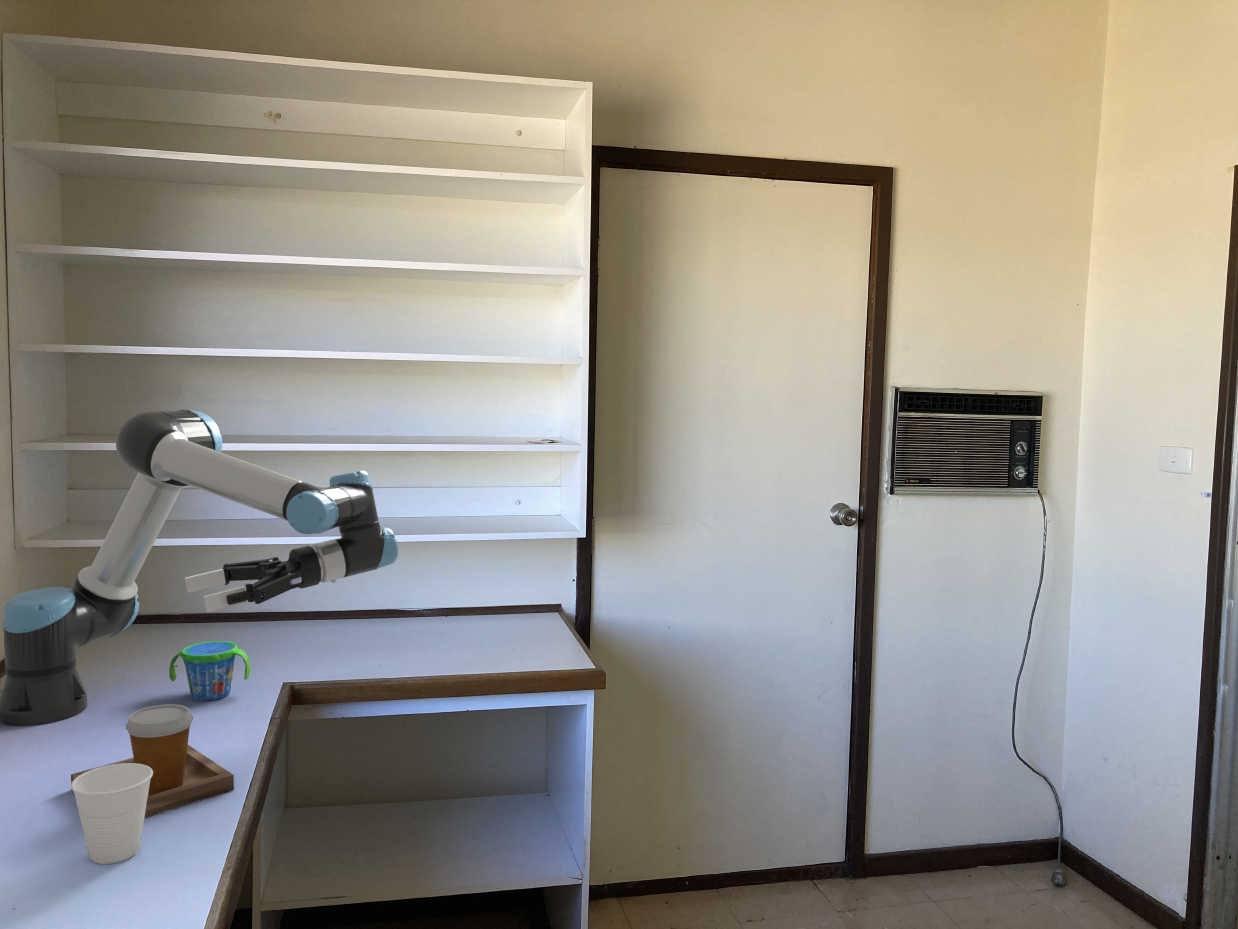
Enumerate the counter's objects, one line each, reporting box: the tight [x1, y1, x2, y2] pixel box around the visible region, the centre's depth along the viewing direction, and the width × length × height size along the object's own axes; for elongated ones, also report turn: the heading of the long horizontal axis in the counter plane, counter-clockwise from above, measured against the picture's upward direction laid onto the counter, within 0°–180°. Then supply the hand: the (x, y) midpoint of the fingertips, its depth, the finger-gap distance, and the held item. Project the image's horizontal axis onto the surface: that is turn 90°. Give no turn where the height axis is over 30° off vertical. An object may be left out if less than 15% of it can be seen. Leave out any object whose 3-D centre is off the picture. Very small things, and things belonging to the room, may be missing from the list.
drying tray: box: [70, 744, 235, 819], centre depth 147 cm, size 18×18×2 cm
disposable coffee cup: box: [125, 703, 194, 796], centre depth 145 cm, size 10×10×12 cm
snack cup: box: [168, 640, 251, 701], centre depth 190 cm, size 16×10×10 cm
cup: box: [70, 763, 153, 865], centre depth 127 cm, size 10×10×11 cm
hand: (195, 594), depth 160 cm, fingers open, 13 cm apart
